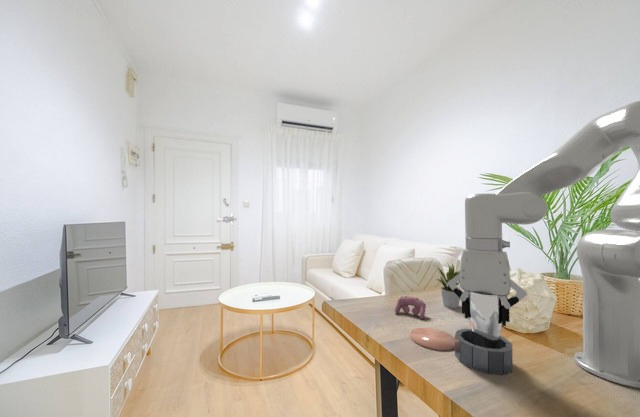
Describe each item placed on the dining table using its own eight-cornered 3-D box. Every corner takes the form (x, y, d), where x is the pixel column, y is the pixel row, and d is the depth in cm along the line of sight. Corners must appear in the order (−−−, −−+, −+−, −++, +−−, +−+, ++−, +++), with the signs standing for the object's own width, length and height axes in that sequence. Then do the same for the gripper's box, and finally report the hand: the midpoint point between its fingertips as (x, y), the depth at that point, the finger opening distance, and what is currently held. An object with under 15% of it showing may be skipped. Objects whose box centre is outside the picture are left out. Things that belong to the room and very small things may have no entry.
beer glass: (509, 364, 58) (507, 296, 59) (475, 361, 60) (473, 294, 60) (495, 349, 65) (493, 288, 65) (464, 346, 66) (463, 286, 67)
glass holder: (512, 358, 64) (512, 337, 64) (512, 381, 54) (512, 357, 54) (459, 343, 70) (459, 325, 70) (451, 362, 61) (451, 341, 61)
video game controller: (425, 321, 89) (427, 300, 92) (423, 319, 86) (425, 297, 88) (396, 315, 94) (399, 295, 97) (393, 312, 91) (396, 292, 94)
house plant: (483, 314, 92) (483, 267, 92) (444, 313, 92) (444, 266, 93) (462, 301, 106) (462, 260, 107) (428, 300, 106) (428, 260, 107)
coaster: (460, 337, 74) (460, 335, 74) (453, 355, 64) (453, 353, 64) (417, 326, 81) (417, 324, 81) (404, 341, 71) (404, 338, 71)
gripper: (528, 246, 61) (530, 323, 60) (447, 241, 71) (448, 308, 71) (530, 249, 55) (532, 335, 54) (441, 244, 65) (442, 317, 65)
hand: (484, 319), depth 62 cm, fingers closed on beer glass, 6 cm apart
